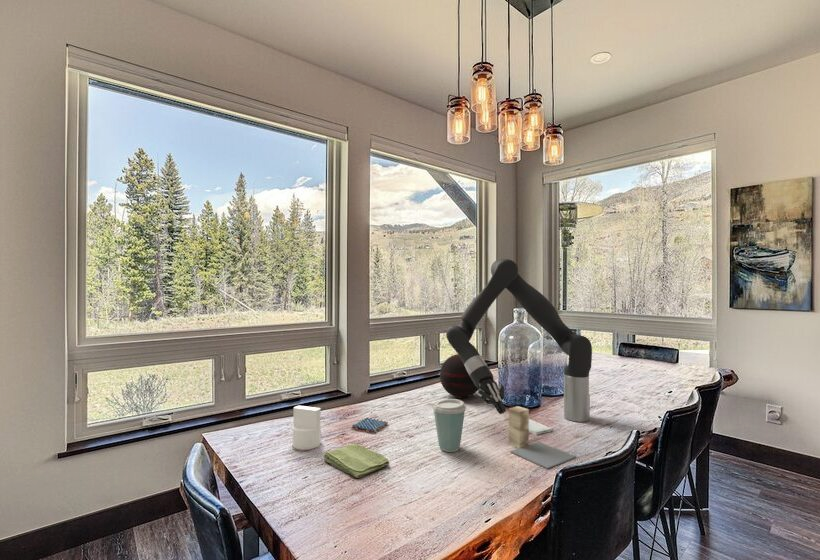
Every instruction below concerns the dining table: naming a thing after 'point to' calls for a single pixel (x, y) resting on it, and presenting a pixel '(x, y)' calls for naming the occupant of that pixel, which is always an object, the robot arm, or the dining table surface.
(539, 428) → the hard drive
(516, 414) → the maple block
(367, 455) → the washcloth
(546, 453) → the felt mat
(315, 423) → the white lidded canister
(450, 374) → the decorative orb
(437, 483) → the dining table surface
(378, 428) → the woven mat
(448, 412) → the disposable coffee cup
